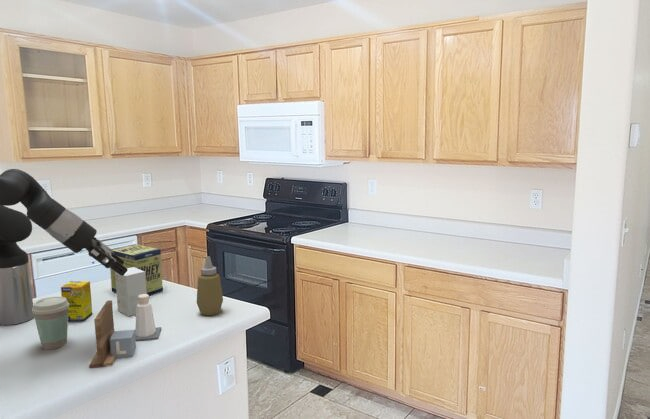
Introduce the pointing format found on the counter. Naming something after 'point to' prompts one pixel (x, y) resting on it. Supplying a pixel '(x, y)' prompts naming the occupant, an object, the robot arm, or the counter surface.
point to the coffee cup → (51, 321)
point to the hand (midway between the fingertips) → (123, 268)
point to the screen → (103, 337)
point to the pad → (152, 337)
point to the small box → (130, 290)
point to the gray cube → (123, 343)
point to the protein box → (141, 265)
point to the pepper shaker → (144, 317)
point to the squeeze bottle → (209, 290)
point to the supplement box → (78, 300)
